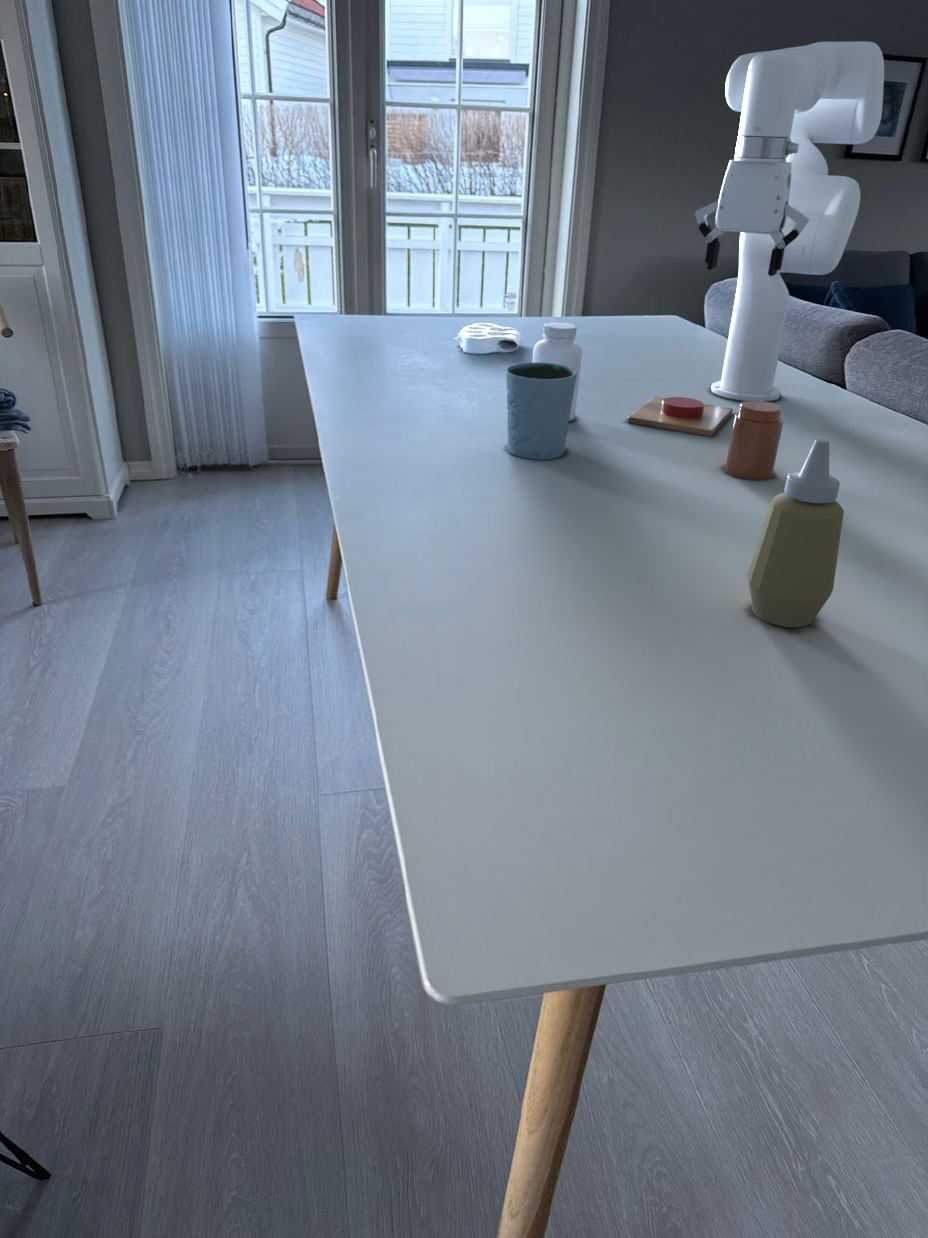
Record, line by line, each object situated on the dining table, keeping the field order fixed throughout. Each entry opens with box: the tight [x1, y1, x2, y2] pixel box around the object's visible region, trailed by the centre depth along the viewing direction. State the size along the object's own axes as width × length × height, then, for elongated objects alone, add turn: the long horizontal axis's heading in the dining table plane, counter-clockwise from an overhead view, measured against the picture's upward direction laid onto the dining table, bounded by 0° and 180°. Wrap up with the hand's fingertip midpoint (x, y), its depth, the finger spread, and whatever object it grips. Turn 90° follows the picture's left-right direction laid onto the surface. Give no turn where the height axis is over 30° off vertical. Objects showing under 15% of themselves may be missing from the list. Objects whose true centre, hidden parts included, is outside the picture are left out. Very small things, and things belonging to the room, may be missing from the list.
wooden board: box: [627, 396, 734, 437], centre depth 154 cm, size 16×14×1 cm
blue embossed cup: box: [505, 362, 577, 460], centre depth 132 cm, size 10×10×12 cm
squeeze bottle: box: [746, 438, 845, 628], centre depth 86 cm, size 8×8×18 cm
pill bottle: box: [531, 321, 583, 422], centre depth 148 cm, size 8×8×15 cm
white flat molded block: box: [453, 322, 524, 355], centre depth 201 cm, size 3×18×15 cm
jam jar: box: [724, 401, 784, 481], centre depth 128 cm, size 7×7×10 cm
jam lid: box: [661, 396, 705, 418], centre depth 153 cm, size 7×7×2 cm
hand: (741, 271), depth 143 cm, fingers open, 9 cm apart
